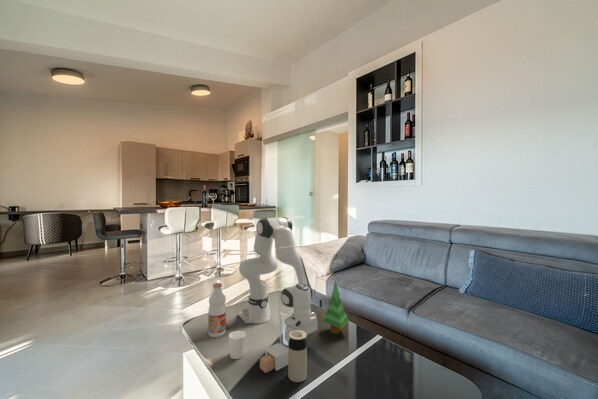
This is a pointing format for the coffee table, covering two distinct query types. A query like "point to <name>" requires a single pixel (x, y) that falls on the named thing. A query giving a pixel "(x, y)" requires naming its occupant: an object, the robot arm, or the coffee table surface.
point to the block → (266, 363)
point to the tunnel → (278, 355)
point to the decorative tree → (335, 312)
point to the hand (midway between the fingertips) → (302, 344)
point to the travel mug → (297, 356)
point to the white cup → (237, 344)
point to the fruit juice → (217, 312)
